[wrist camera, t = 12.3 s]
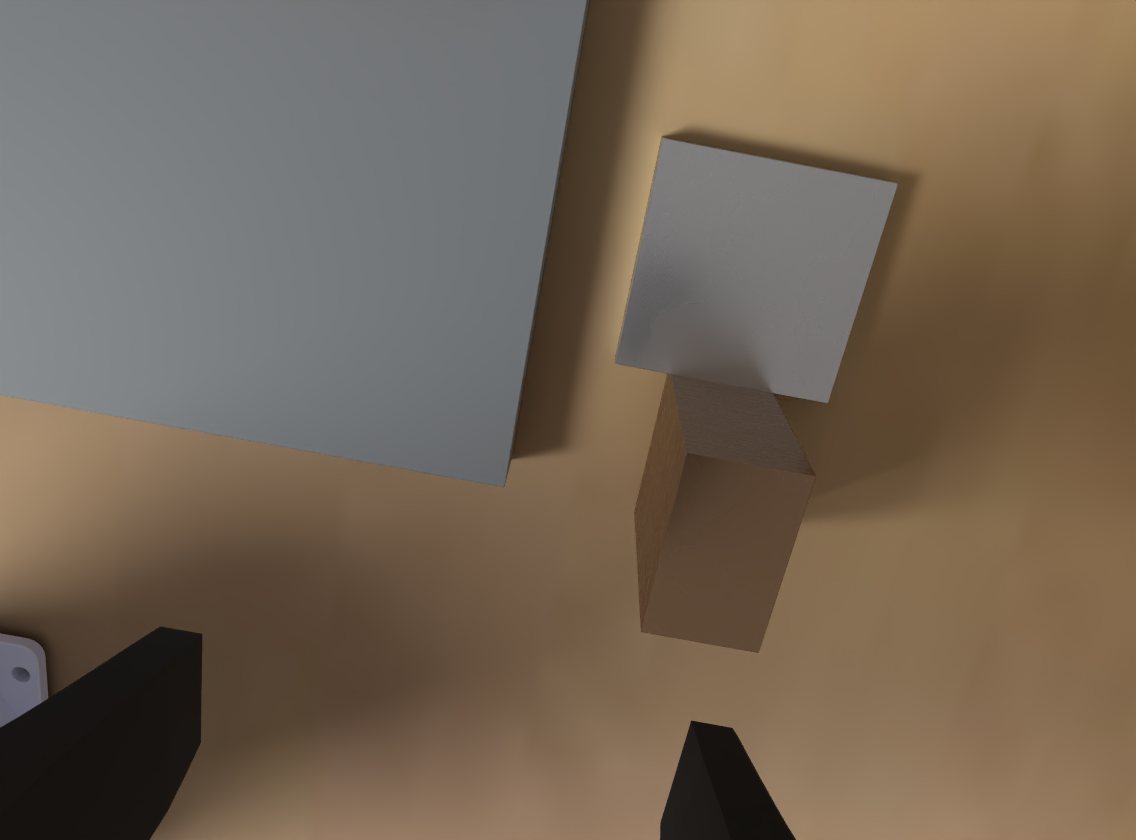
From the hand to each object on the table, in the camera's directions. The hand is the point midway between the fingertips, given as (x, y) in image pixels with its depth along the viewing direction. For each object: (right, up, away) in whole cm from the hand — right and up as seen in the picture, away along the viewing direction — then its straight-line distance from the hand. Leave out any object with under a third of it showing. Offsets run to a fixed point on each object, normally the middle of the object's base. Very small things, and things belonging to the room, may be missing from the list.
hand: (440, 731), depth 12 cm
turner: (+5, +6, +8) cm, 11 cm away
